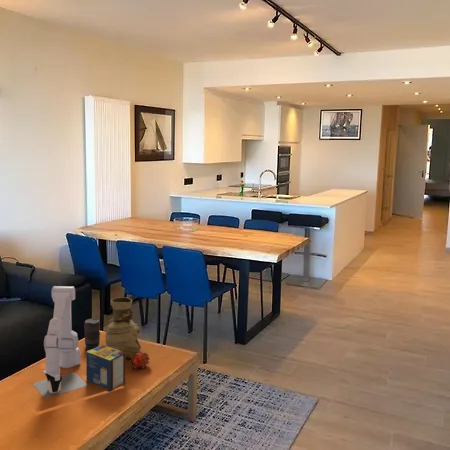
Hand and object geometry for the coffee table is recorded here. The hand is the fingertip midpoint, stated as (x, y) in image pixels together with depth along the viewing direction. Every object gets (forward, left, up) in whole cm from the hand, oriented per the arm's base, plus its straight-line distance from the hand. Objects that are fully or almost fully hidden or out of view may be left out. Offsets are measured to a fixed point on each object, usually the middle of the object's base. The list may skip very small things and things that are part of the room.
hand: (53, 388), depth 220 cm
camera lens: (-35, -36, -2) cm, 50 cm away
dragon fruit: (-44, 0, -2) cm, 44 cm away
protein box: (-23, +5, -2) cm, 24 cm away
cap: (0, 0, -1) cm, 1 cm away
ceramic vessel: (-45, -19, -2) cm, 49 cm away
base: (-4, -3, -2) cm, 6 cm away
